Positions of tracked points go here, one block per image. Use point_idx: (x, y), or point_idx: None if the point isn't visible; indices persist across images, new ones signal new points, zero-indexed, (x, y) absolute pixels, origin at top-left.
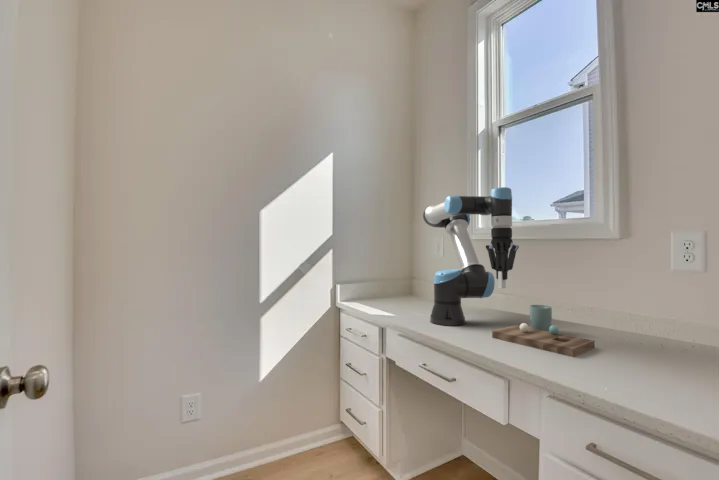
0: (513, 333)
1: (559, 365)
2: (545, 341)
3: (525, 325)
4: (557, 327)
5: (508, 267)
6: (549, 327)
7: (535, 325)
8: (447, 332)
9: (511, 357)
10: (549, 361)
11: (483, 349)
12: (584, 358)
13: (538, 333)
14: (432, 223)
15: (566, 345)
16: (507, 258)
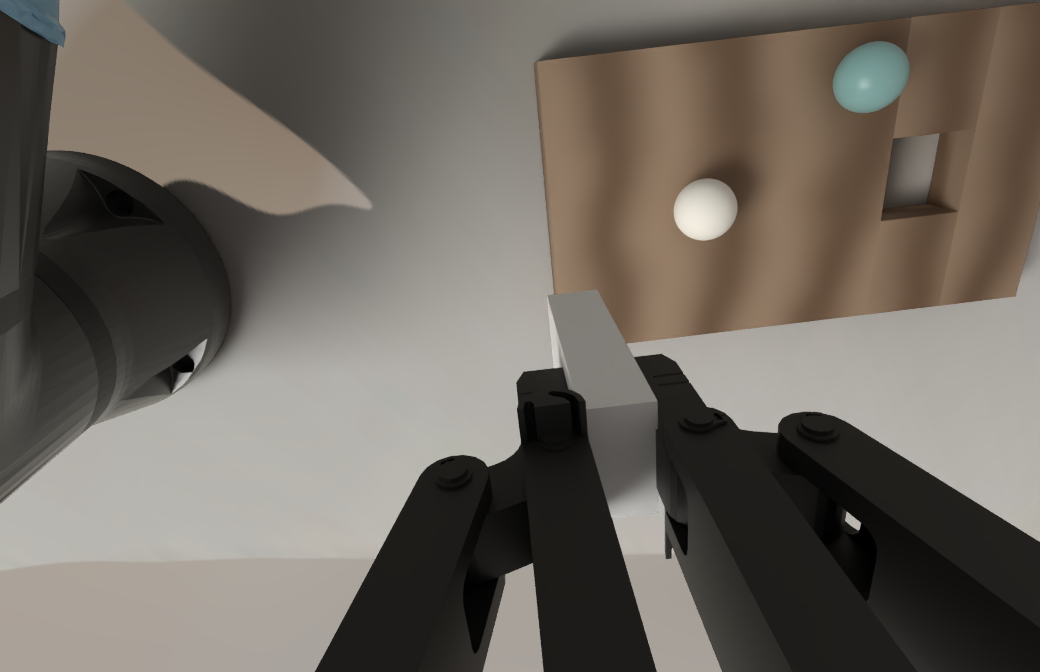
0: (674, 296)
1: (961, 425)
2: (871, 290)
3: (728, 226)
4: (908, 72)
5: (838, 553)
6: (852, 98)
7: None
8: (356, 456)
9: None
10: (919, 417)
11: (664, 508)
12: (1027, 256)
13: (772, 157)
14: None
15: (977, 266)
16: (885, 656)
